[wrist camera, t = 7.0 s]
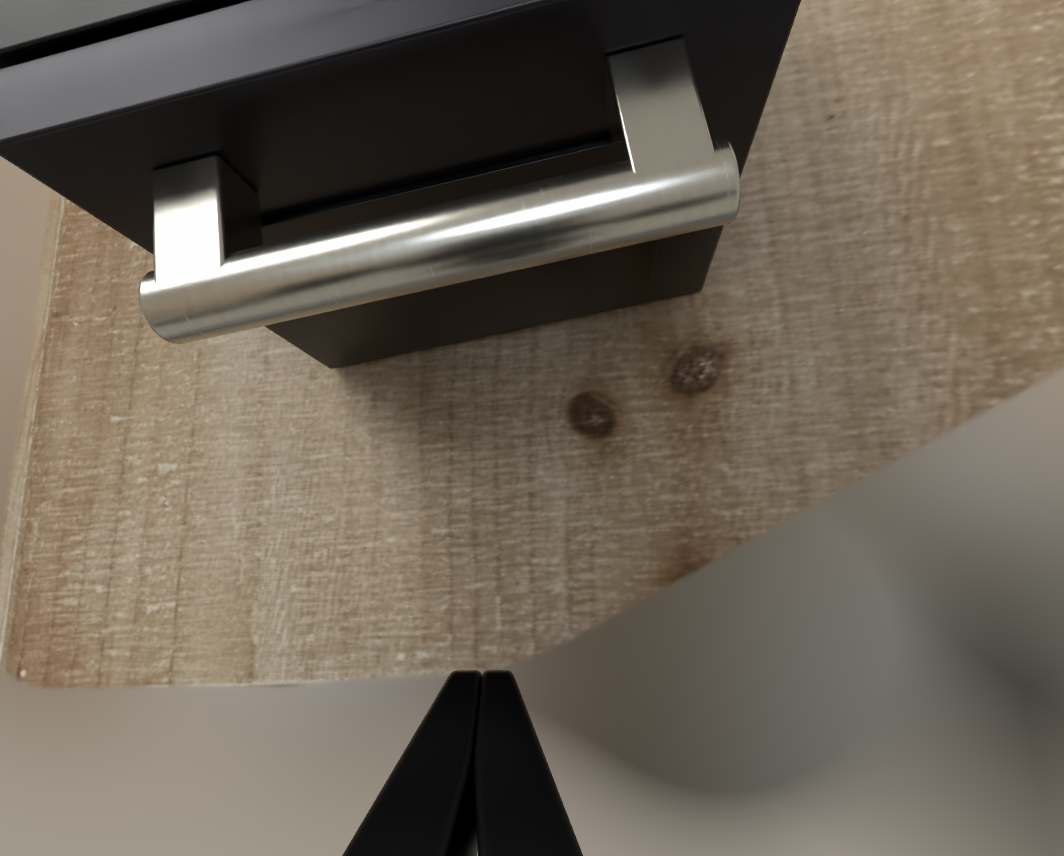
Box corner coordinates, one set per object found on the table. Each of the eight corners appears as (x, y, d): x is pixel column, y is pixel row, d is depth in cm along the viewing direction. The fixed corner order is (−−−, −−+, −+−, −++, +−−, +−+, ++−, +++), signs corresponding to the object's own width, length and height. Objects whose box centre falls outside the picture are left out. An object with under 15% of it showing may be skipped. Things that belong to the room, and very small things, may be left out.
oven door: (723, 375, 20) (894, 108, 8) (337, 451, 22) (-26, 321, 9) (691, 251, 21) (800, -156, 9) (326, 330, 23) (-14, 69, 10)
